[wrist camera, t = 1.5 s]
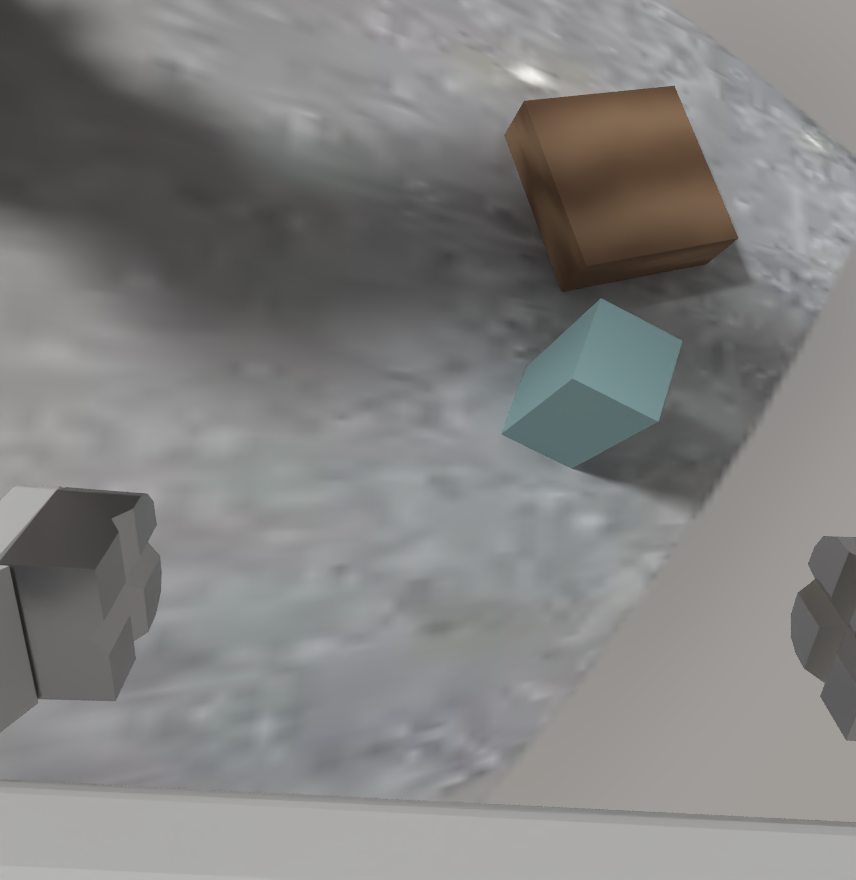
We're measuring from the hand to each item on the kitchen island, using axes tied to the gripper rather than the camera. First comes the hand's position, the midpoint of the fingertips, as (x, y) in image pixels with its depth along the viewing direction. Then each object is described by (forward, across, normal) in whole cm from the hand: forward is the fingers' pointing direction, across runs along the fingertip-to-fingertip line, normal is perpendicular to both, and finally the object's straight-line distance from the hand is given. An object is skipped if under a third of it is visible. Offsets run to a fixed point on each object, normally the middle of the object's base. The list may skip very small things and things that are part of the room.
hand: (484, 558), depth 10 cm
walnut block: (+50, -12, +5) cm, 51 cm away
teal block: (+37, -8, +16) cm, 41 cm away
